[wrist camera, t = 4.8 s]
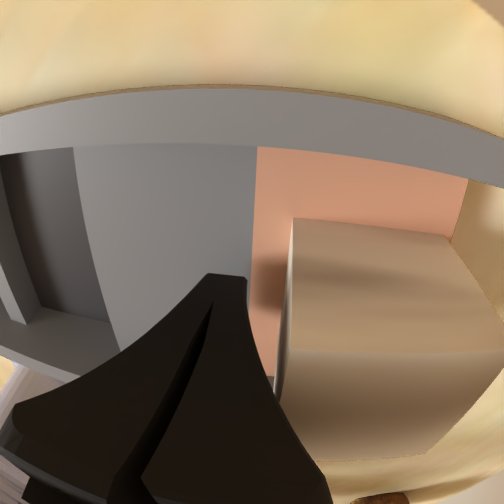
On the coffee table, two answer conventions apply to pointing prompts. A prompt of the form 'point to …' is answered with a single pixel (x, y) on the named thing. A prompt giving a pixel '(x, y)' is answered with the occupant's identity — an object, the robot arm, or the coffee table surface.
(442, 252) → the cream block
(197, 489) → the robot arm
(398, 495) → the dark brown rounded lump
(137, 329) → the tray
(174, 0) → the coffee table surface
